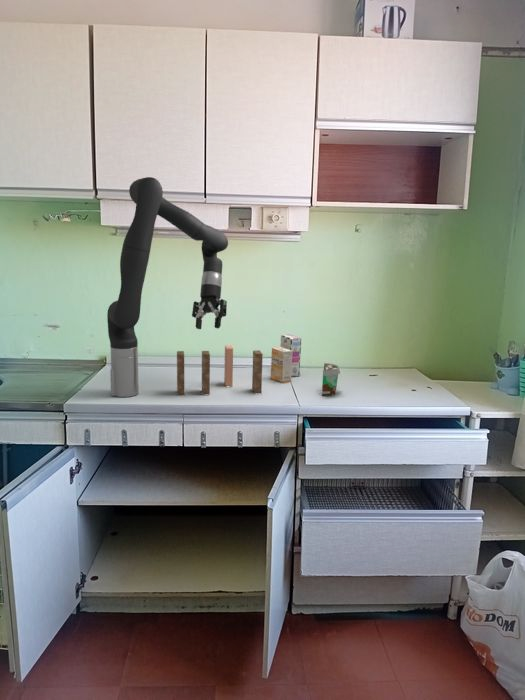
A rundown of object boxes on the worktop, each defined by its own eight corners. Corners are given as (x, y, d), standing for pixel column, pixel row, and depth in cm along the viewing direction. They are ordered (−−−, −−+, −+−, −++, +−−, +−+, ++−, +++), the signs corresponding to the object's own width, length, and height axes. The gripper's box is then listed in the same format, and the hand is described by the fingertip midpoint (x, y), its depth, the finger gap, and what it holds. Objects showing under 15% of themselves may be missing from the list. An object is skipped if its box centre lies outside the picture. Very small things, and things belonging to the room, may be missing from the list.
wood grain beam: (254, 393, 181) (255, 353, 178) (252, 389, 186) (253, 350, 183) (261, 393, 181) (262, 353, 178) (258, 389, 187) (259, 350, 184)
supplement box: (269, 378, 202) (270, 347, 200) (279, 377, 205) (280, 346, 203) (282, 383, 196) (283, 351, 193) (291, 381, 199) (293, 350, 196)
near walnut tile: (177, 395, 176) (177, 354, 173) (177, 391, 181) (176, 351, 178) (184, 395, 176) (184, 354, 173) (184, 390, 182) (183, 351, 179)
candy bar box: (300, 376, 207) (301, 338, 204) (289, 377, 205) (290, 338, 202) (289, 370, 217) (290, 333, 214) (278, 371, 215) (280, 334, 212)
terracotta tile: (226, 386, 189) (226, 348, 186) (224, 382, 194) (224, 345, 191) (232, 386, 189) (233, 348, 186) (230, 382, 195) (231, 345, 192)
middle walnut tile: (202, 395, 177) (202, 354, 174) (201, 390, 183) (201, 350, 180) (209, 394, 178) (209, 354, 175) (208, 390, 183) (208, 350, 180)
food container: (338, 398, 179) (340, 371, 177) (321, 396, 179) (323, 370, 177) (338, 388, 190) (340, 363, 188) (322, 387, 191) (324, 362, 189)
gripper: (190, 284, 184) (186, 327, 182) (220, 281, 176) (217, 325, 174) (202, 289, 190) (199, 331, 188) (232, 286, 183) (229, 329, 180)
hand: (207, 328), depth 181 cm, fingers open, 8 cm apart
